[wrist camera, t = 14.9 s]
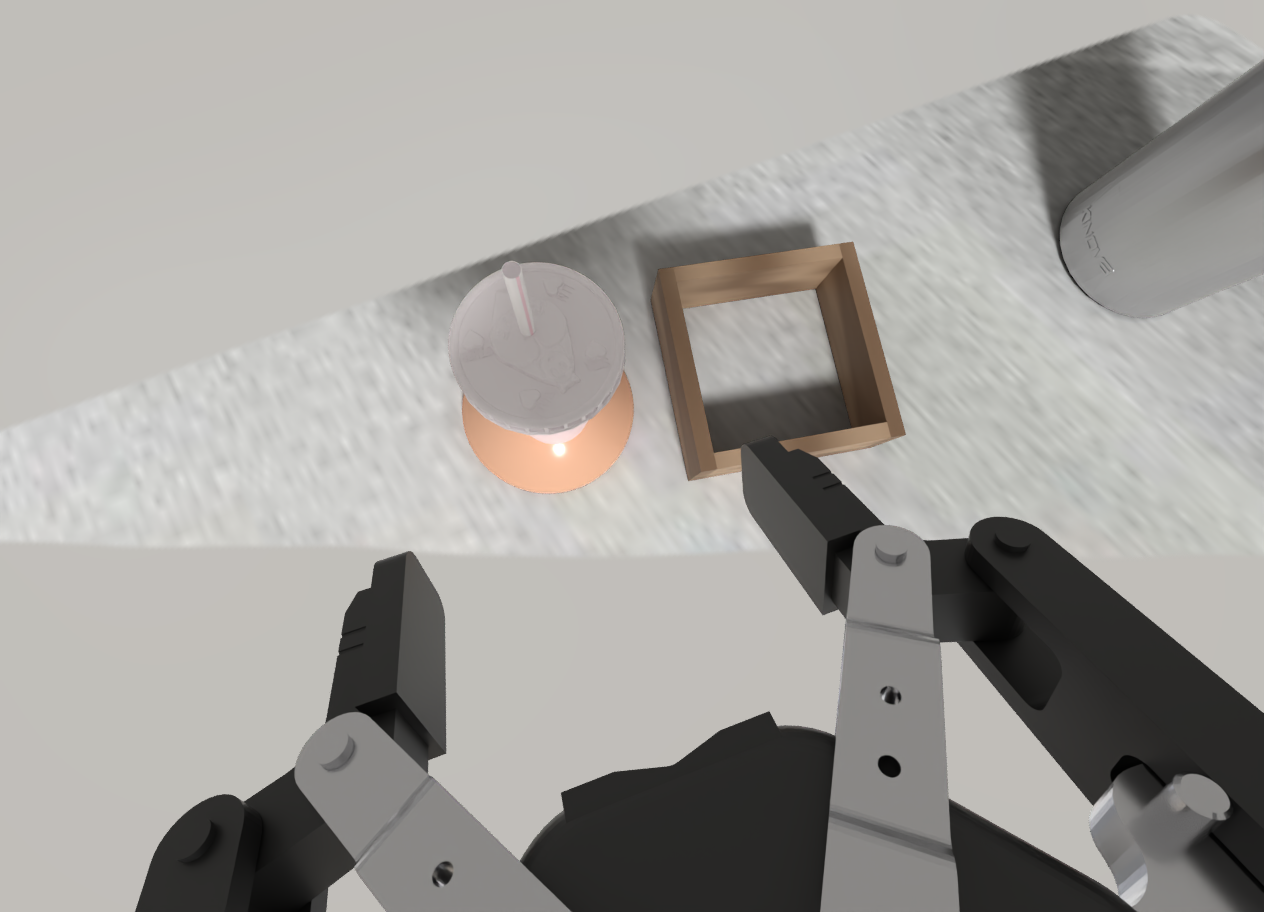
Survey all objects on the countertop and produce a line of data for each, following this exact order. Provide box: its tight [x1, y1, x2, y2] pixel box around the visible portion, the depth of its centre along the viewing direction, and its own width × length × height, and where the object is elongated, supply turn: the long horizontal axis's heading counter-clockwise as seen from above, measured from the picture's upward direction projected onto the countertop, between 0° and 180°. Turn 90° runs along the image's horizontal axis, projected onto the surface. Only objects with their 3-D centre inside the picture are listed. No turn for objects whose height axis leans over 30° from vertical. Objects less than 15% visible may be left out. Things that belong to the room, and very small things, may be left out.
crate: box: [651, 242, 906, 481], centre depth 29 cm, size 11×11×4 cm
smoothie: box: [448, 261, 625, 444], centre depth 22 cm, size 6×6×14 cm
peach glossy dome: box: [462, 371, 634, 494], centre depth 30 cm, size 9×9×1 cm
